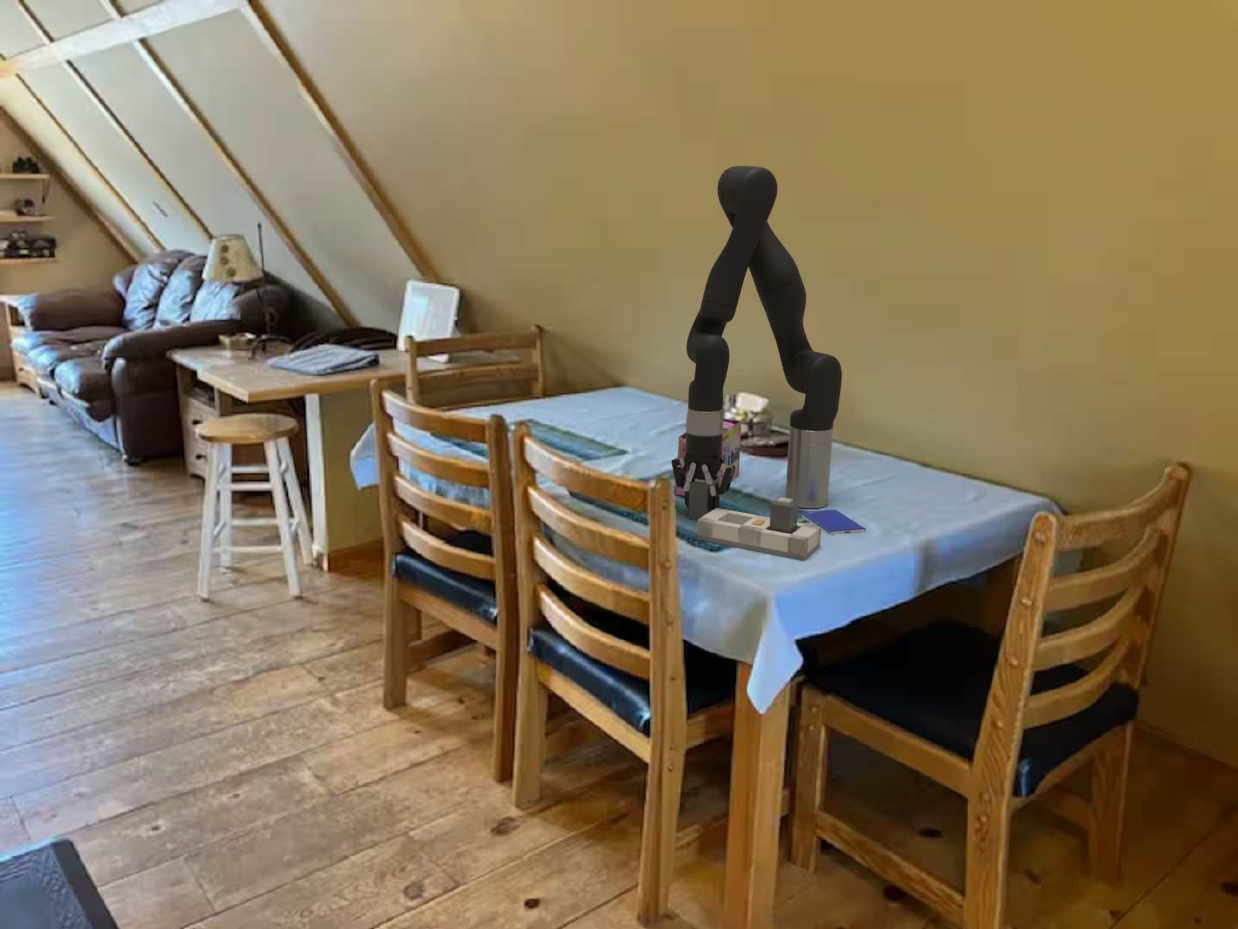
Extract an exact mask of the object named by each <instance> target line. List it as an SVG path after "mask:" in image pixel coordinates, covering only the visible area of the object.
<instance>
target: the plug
mask: <svg viewBox="0 0 1238 929" xmlns="http://www.w3.org/2000/svg"><path fill="white" fill-rule="evenodd" d="M710 496H711V493H710V489H709V486H708V485H707V482H706V480H705V479H702V478H696V479H695V480H693V481H691V482H690V485H689V509H688V515H687V516H688V518H687V519H688V520H691V521H696V522H697V520H698V519H699V518H701V517H703V516H704V515H706V514H708V513H709V508H710Z"/></svg>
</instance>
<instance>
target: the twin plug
mask: <svg viewBox="0 0 1238 929" xmlns="http://www.w3.org/2000/svg"><path fill="white" fill-rule="evenodd" d="M798 503H799V502H797V501H793V499H789V498H785V497H779V498H777V499H776V500H774V501H773V502H772V503H770V512H769V513H770V514H769V516H770V529H769V530H772V531H777V532H782V533H788V534H793V533H794V532H795V531H796V530H797V522H798V515H799V507H798Z"/></svg>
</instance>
